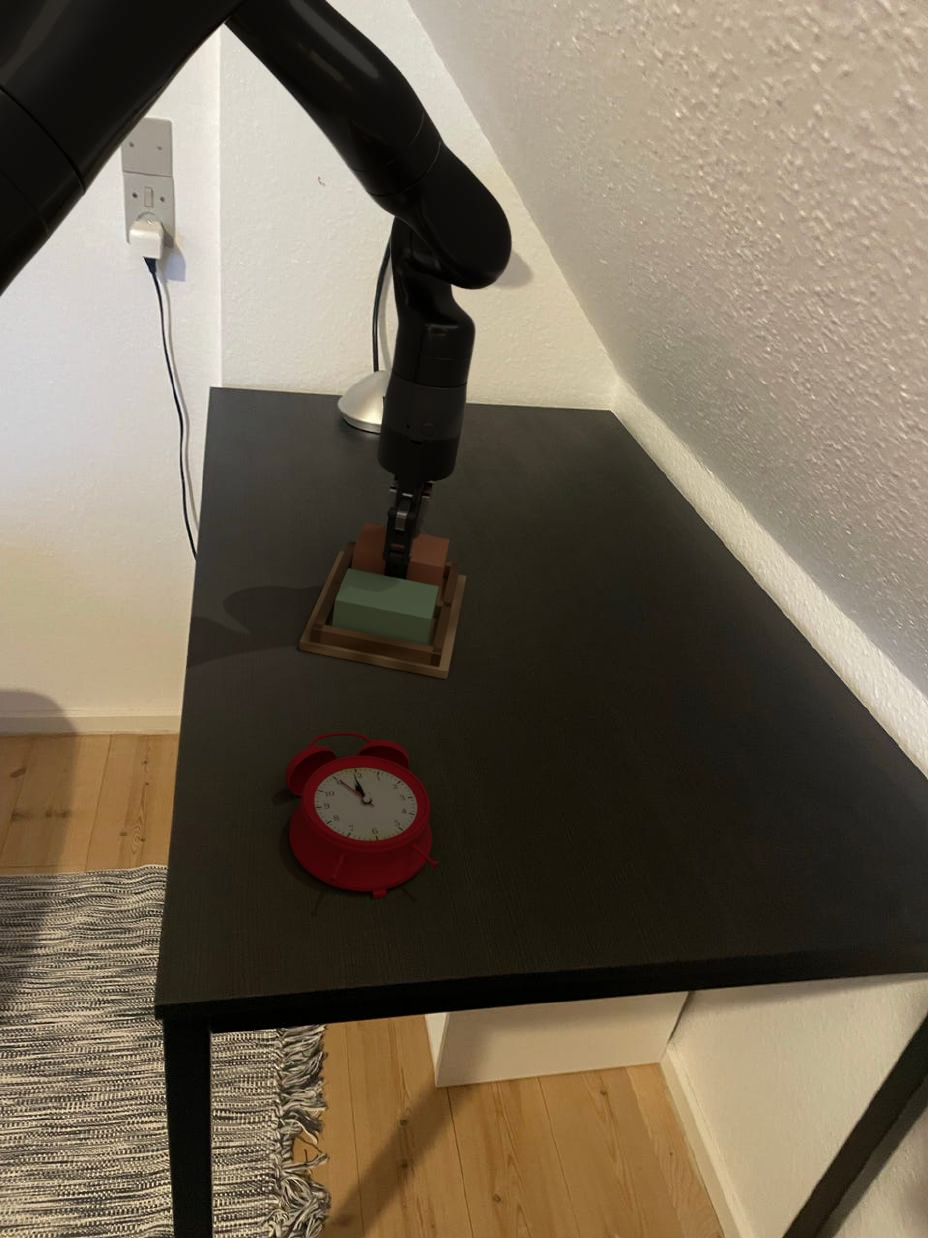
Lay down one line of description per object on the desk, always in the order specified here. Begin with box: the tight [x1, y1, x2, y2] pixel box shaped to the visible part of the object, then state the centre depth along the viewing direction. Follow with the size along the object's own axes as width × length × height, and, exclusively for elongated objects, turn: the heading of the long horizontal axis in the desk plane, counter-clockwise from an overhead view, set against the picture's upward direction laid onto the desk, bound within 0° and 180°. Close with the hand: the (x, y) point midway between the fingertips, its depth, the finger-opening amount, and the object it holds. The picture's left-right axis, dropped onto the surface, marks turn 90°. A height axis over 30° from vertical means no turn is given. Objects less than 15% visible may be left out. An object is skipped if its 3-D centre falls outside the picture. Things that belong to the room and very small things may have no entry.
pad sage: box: [332, 568, 439, 645], centre depth 90 cm, size 9×6×4 cm, turn 84°
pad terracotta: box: [351, 521, 451, 599], centre depth 97 cm, size 9×6×4 cm, turn 84°
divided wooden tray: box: [298, 540, 467, 680], centre depth 94 cm, size 14×18×2 cm
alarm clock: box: [285, 731, 439, 900], centre depth 70 cm, size 10×6×15 cm
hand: (398, 572), depth 97 cm, fingers closed on pad terracotta, 6 cm apart
